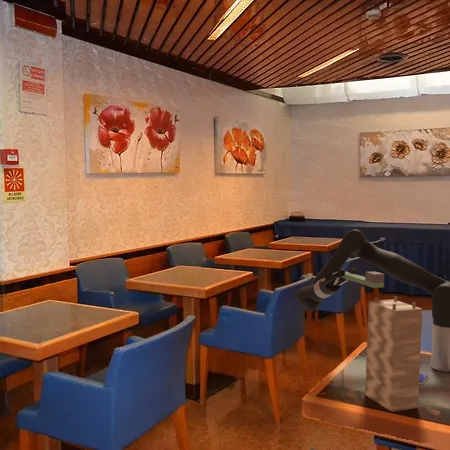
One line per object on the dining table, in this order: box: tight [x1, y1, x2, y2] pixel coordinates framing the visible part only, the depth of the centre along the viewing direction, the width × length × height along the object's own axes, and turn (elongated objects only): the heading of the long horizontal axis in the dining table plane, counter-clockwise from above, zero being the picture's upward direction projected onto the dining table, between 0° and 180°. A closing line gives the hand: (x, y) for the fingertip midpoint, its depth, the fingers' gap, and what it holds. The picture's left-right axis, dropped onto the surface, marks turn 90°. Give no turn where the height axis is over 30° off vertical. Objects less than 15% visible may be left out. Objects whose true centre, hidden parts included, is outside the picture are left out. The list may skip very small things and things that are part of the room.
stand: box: [364, 296, 423, 413], centre depth 169 cm, size 14×10×34 cm
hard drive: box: [419, 373, 429, 385], centre depth 192 cm, size 2×8×12 cm
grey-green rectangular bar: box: [341, 271, 385, 289], centre depth 185 cm, size 22×4×5 cm, turn 21°
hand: (349, 271), depth 192 cm, fingers closed on grey-green rectangular bar, 4 cm apart
